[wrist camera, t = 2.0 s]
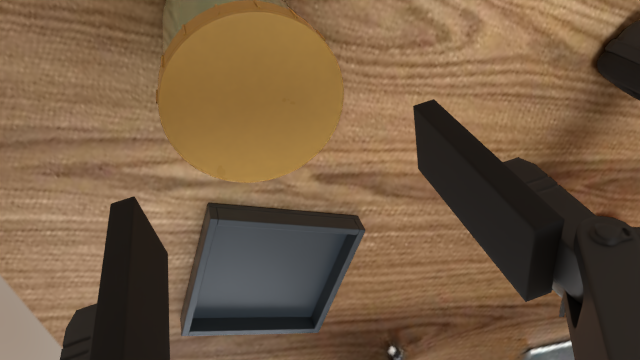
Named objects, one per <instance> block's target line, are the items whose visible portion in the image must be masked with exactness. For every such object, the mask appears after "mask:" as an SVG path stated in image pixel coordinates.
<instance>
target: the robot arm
mask: <svg viewBox="0 0 640 360" xmlns="http://www.w3.org/2000/svg"><path fill="white" fill-rule="evenodd" d="M413 107H414V120H415V133H416V145H417V158H418V169H419V170H420V171H421V173H422V174H423V175H424V176H425V178H426V179H427V180H428V181H429V182H430V184H431V185H432V186H433V187H434V189H435V190H436V191H437V192H438V194H439V195H440V196H441V197H442V199H443V200H444V201H445V202H446V204H447V205H448V206H449V207H450V209H451V210H452V211H453V212H454V213H455V215H456V216H457V217H458V218H459V220H460V221H461V222H462V223H463V225H464V226H465V227H466V228H467V230H468V231H469V232H470V233H471V235H472V236H473V237H474V238H475V240H476V241H477V242H478V243H479V244H480V246H481V247H482V248H483V249H484V251H485V252H486V253H487V254H488V256H489V257H490V258H491V259H492V261H493V262H494V263H495V264H496V266H497V267H498V268H499V269H500V271H501V272H502V273H503V274H504V276H505V277H506V278H507V279H508V280H509V282H510V283H511V284H512V285H513V287H514V288H515V289H516V290H517V292H518V293H519V294H520V295H521V297H522V298H523V299H524V300H525V302H527V301H530V300H532V299H535V298H538V297H540V296H543V295H545V294H548V293H551V291H552V286H553V280H554V279H555V280H556V281H557V282H558V283H559V284H560V285H561V286H562V287H563V288H564V292H563V297H562V301H561V306H560V314H559V317H564V314H565V312H566V317H567V322H568V327H569V332H570V337H571V342H572V347H573V352H574V357H575V360H640V227H631V226H629V225H628V224H626V223H625V222H623V221H620V220H618V219H615V218H612V217H604V216H596V215H595V214H593V213H592V212H591V211H590V210H589V209H587V208H586V207H585V206H584V205H583V204H581V203H580V202H579V201H578V200H577V199H576V198H574V197H573V196H572V195H571V194H570V193H568V192H567V191H566V190H565V189H564V188H563V187H561V186H560V185H557V182H555V181H554V180H553V179H552V178H551V177H548V176H547V174H546V173H545V172H544V171H542V170H541V169H540V168H539V167H538V166H536V165H535V164H533V163H531V162H528V161H526V160H523V159H521V158H519V157H518V158H515V159H512V160H509V161H506V162H502V161H500V160H499V159H498V158H497V157H496V156H495V155H494V154H493V153H492V152H491V151H490V150H488V149H487V148H486V147H485V146H484V145H483V144H482V143H481V142H480V141H479V140H478V139H476V138H475V137H474V136H473V135H472V134H471V133H470V132H469V131H468V130H467V129H466V128H465V127H463V126H462V125H461V124H460V123H459V122H458V121H457V120H456V119H455V118H454V117H453V116H451V115H450V114H449V113H448V112H447V111H446V110H445V109H444V108H443V107H442V106H441V105H439V104H438V103H437V102H436V101H435V100H434V99H433V100H430V101H427V102H424V103H421V104H418V105H415V106H413ZM60 360H170V344H169V293H168V253H167V251H166V250H165V248H164V246H163V245H162V243H161V241H160V239H159V238H158V236H157V234H156V233H155V231H154V229H153V227H152V226H151V224H150V222H149V221H148V219H147V217H146V215H145V214H144V212H143V210H142V209H141V207H140V205H139V203H138V202H137V200H136V198H135V197H131V198H128V199H125V200H121V201H118V202H115V203H112V204H111V207H110V214H109V221H108V229H107V236H106V243H105V251H104V258H103V265H102V273H101V280H100V287H99V295H98V302H97V304H94V305H91V306H88V307H85V308H82V309H79V310H76V312H75V314H74V316H73V317H72V319H71V321H70V322H69V324H68V326H67V328H66V331H65V336H64V341H63V349H62V352H61V357H60Z"/></svg>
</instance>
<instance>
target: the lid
mask: <svg viewBox="0 0 640 360" xmlns="http://www.w3.org/2000/svg"><path fill="white" fill-rule="evenodd" d="M343 100H344V87H343V78H342V74H341V70H340V67H339V65H338V62H337V60H336V58H335V56H334V54H333V52H332V51H331V49H330V48H329V46H328V45H327V44H326V43H325V38H324V37H323V36H322V35H321V34H320V33H319V31H318V30H316V31H315V30H314V28H313V27H312V26H311V25H310V24H308V23H307V22H306V21H305V20H304V19H303V18H301V17H300V16H298V15H297V14H296V13H294V12H293V10H292V9H291V8H289V10H288V9H286V8H284V7H282V6H279V5H276V4H273V3H268V2H263V1H257V0H243V1H233V2H229V3H224V4H221V5H218V6H217V4H215V7H212V8H210V9H208V10H206V11H204V12H202V13H200V14H199V15H197V16H196V17H194V18H193V19H192V20H190V21H189V22H188V23H187V24H186V25H184V24H183V25H182V28H181V29H180V30H179V32H178V33H177V34H176V35H175V37H174V38H173V39H172V41H171V42H170V44H169V46H168V48H167V50H166V51H165V54H164V55H162V56H161V66H160V70H159V78H158V90H156V103H158V107H159V115H160V120H161V124H162V127H163V129H164V132H165V134H166V136H167V138H168V140H169V141H170V143H171V145H172V146H173V147H174V149H175V150H176V151H177V153H178V154H179V155H180V156H181V157H182V158H183V159H184V160H186V161H187V162H188V163H189V164H191V165H192V166H193V167H195V168H196V169H198V170H200V171H202V172H203V173H205V174H208V175H210V176H213V177H215V178H219V179H222V180H226V181H232V182H244V183H249V182H261V181H267V180H271V179H275V178H278V177H281V176H283V175H286V174H289V173H290V172H292V171H294V170H296V169H298V168H300V167H301V166H303V165H304V164H306V163H307V162H308V161H310V160H311V159H312V158H313V157H314V156H316V155H317V153H318V152H319V151H320V150H321V149H322V148H323V147H324V146H325V144H326V143H327V142H328V141H329V139H330V137H331V136H332V134H333V132H334V131H335V128H336V126H337V124H338V122H339V118H340V115H341V112H342V106H343Z"/></svg>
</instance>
